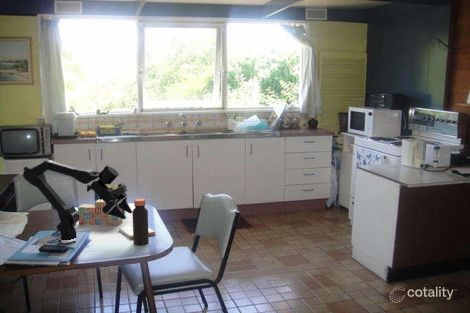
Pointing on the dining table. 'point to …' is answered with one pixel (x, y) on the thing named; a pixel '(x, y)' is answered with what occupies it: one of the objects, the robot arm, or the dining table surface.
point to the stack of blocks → (97, 215)
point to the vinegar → (140, 223)
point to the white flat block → (129, 231)
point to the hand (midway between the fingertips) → (128, 215)
